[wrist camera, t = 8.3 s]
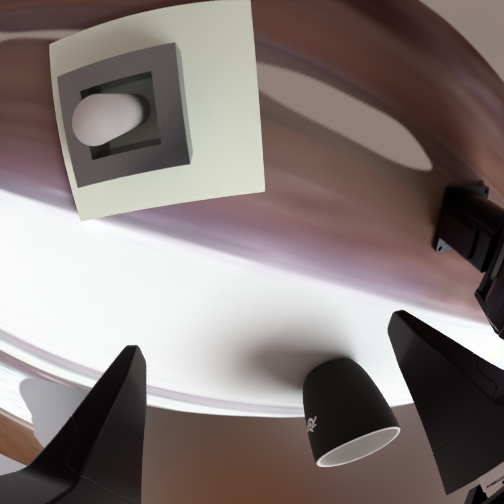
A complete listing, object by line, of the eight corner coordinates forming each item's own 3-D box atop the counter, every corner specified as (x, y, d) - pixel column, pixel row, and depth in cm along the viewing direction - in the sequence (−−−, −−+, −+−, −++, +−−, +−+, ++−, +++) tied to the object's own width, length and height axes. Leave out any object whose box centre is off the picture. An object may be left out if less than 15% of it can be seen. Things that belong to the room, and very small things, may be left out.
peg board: (247, 3, 12) (272, -45, 6) (262, 186, 18) (291, 237, 12) (56, 46, 11) (-9, 34, 5) (86, 215, 17) (41, 273, 11)
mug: (287, 366, 28) (313, 453, 19) (368, 339, 28) (409, 415, 20) (299, 412, 34) (318, 477, 26) (361, 391, 34) (388, 451, 26)
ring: (180, 51, 12) (175, 42, 10) (193, 152, 16) (190, 164, 13) (80, 78, 12) (57, 76, 9) (96, 172, 15) (77, 188, 13)
